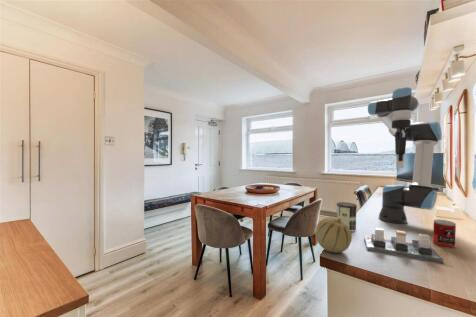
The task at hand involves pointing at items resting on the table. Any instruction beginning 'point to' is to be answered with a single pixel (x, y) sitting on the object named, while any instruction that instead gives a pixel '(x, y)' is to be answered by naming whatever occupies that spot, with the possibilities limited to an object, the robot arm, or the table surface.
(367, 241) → the panel
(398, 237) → the handle
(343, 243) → the cantaloupe
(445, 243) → the canned food
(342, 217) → the coffee can
